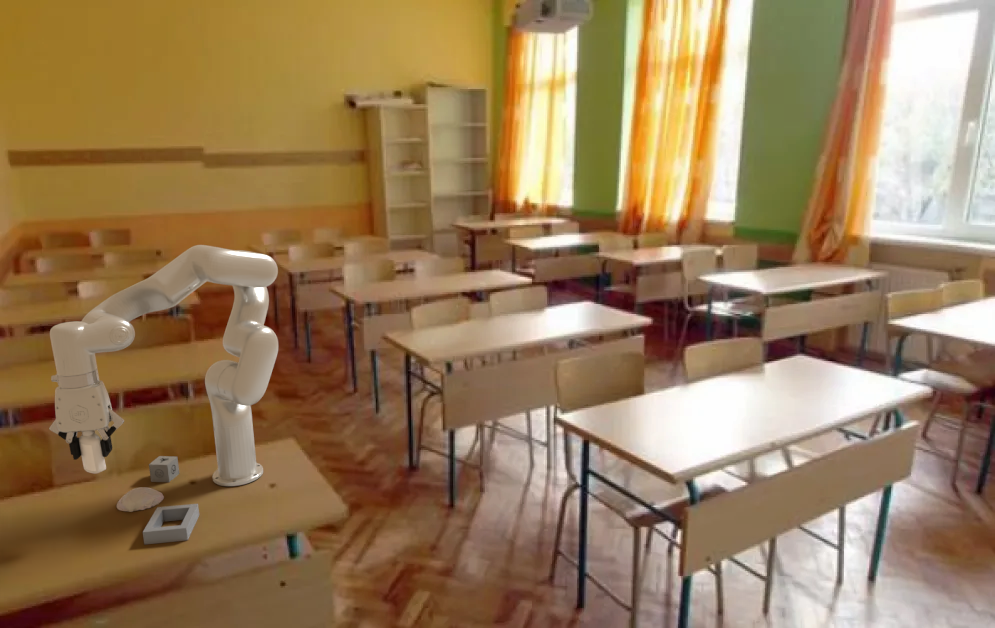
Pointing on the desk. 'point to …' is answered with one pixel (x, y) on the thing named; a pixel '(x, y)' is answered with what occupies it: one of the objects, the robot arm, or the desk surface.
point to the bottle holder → (171, 533)
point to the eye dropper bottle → (91, 452)
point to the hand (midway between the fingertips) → (92, 454)
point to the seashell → (139, 499)
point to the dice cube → (164, 469)
